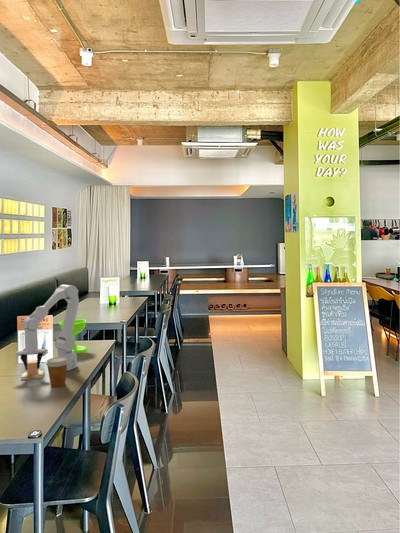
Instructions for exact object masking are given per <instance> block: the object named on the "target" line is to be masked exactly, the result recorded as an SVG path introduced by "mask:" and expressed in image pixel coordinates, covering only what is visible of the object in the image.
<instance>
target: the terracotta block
mask: <svg viewBox="0 0 400 533" xmlns="http://www.w3.org/2000/svg"><path fill="white" fill-rule="evenodd" d="M37 365H38V362H37V359H33V360H31V359H30V360H27V370H26V372H27V375H36V374H38V371H39V369H38V368H37Z"/></svg>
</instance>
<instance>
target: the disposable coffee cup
mask: <svg viewBox="0 0 400 533" xmlns="http://www.w3.org/2000/svg"><path fill="white" fill-rule="evenodd" d="M67 362H68V361H67V358H65V357H58V356H57V357H52V358H48V359H47V360H46V363H45V364H46V366H47V371H48V378H49V382H50V387H52V388H60V387H63V386H66V378H67V377H66V376H67V370H66V368H67Z"/></svg>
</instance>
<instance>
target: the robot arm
mask: <svg viewBox="0 0 400 533" xmlns="http://www.w3.org/2000/svg"><path fill="white" fill-rule="evenodd" d="M63 299H64V300H65V302H66V303H67V306H66V310H65V315H64V320H63V321H64V323H63V328H62V330H61V332H60V333H59V334H58V335H57V338H56V340H55V342H54V347H55V348H56V349H57V357H65V358H67V361H68V362H67V368H66V372H67V371H68V372H69V371H70V370H73V369H75V368H78V367H79V365H78V355H77V354H76V353H75V352H73V351H72V350H73V348H74V337H73V335H72V332H73V327H74V323H75V319H76V318H77V313H78V309H79V305H80V304H79V303H80V299H79V289H78V288H77V287H76V286H75V285H74V284H72V285H71V284H65V283H64V284H62V283H61V284H60V285H58V287H57V288H55V290H54V292H53V293H52V295H51V296H50V297H49V298H48V300H46V302H45V303H44V304H43V305H39V306H37V307H35V310H34V311H33V312H32V313H31V314H29V316H28V317H26V318H24V320H23V321H22V323H21V326H22V328H23V329H24V343H25V344H24V346H25V347H24V348H25V350H17V351H16V352H15V356H16V357H20V360H21V361H22V363H23V364H24V369H25V371H27V362H28V356H31V355H33V356H34V355H36V358H37V359H36V360H37V362H38V365H37V368H38V370H39V369H40V366H41V360H42V357H43V355H44V354H45V355H47V354H48V348H39V344H38V342H39V341H38V328H39V326H40V323H41V322H42V321H43V320H44V319H45V317H47V316H48V314H49V310H50V309H51V308H52V307H53V306H55V305H56V304H57V302H58V301H59V300H63Z"/></svg>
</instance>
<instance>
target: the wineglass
mask: <svg viewBox="0 0 400 533" xmlns="http://www.w3.org/2000/svg"><path fill="white" fill-rule="evenodd" d="M63 323H64V320H61V321H59V322H58V324H59V328H60V330H61V331H62V328H63ZM86 326H87V319H83V318H82V319H81V318H77V319H76V318H75V323H74V327H73V332H72V335H73V337H74V348H73V350H72V351H73V352H75V353H76V354H82V353H85V352H87V351H88V348H87V347H86V346H85V345H84V346H83V345H76V335H78V334H80V333H81V332H83V330H85V327H86Z"/></svg>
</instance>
